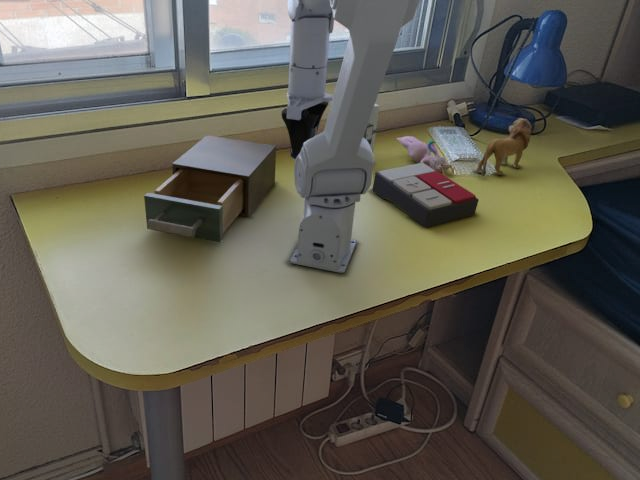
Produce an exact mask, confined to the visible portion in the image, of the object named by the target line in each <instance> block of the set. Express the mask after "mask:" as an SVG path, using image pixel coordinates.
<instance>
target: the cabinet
mask: <svg viewBox="0 0 640 480" xmlns="http://www.w3.org/2000/svg"><path fill="white" fill-rule="evenodd" d="M276 160H277V145H274V144H267V143H260V142H253V141H247V140H241V139H234V138H228V137H222V136H215V135H209V134H208V135H205V136H204V137H203V138H201V139H200V140H199V141H198V142H197V143H195V144H194V145H193V146H192V147H190V149H188V150H187V151H185V152H184V153H183V154H182V155H181V156H179V157H178V159H176V160H175V161H173V162H172V163H171V169H172V175H173V174H175V173H176V172H177V171H178V170H179V169H180V168H181V169H187V170H193V171H199V172H205V173H211V174H217V175H223V176H229V177H235V178H241V179H245V207H244V209H243V210H242V211H241V212H240V213H239V215H238V216H241V217H246V218H249V217H250V215H251V214H252V213H253V212H254V210H255V209H256V208H257V207H258V205H259V204H260V203H261V201H262V200H263V199H264V198H265V196H266V195H267V194H268V193H269V191H270V190H271V189H272V187H273V186H274V185H275V183H276V163H277V161H276Z"/></svg>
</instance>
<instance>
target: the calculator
mask: <svg viewBox="0 0 640 480" xmlns="http://www.w3.org/2000/svg"><path fill="white" fill-rule="evenodd" d="M372 192H373V193H375V194H376V196H379V197H380V198H381V199H383V200H388V201H390V202H391V203H393V204H394V205H395V206H396V207H398V208H399V209H400V210H402V211H403V212H404V213H406V214H407V215H408V216H410V217H411V219H414V220H415V221H416V222H418V224H420V225H421V226H423V227H424V228H429V227H433V226H437V225H440V224H445V223H448V222H452V221H455V220H460V219H464V218H467V217H472V216H475V215H476V211H477V207H478V204H479V198H478V197H477V196H476V195H475V194H474V193H473V192H471V191H470V190H468V189H467V188H465V187H463V186H462V185H460V184H459V183H457V182H455V181H454V180H452V179H451V178H449V177H448V176H446V175H445V176H444V175H443V174H442V172H438V171H435V170H433V169H432V168H431V167H430V166H428V165H427V164H426V163H425V162H423V163H414V164H409V165H404V166H398V167H394V168H388V169H384V170H380V171H376V172H375V173H374V178H373V183H372Z"/></svg>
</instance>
